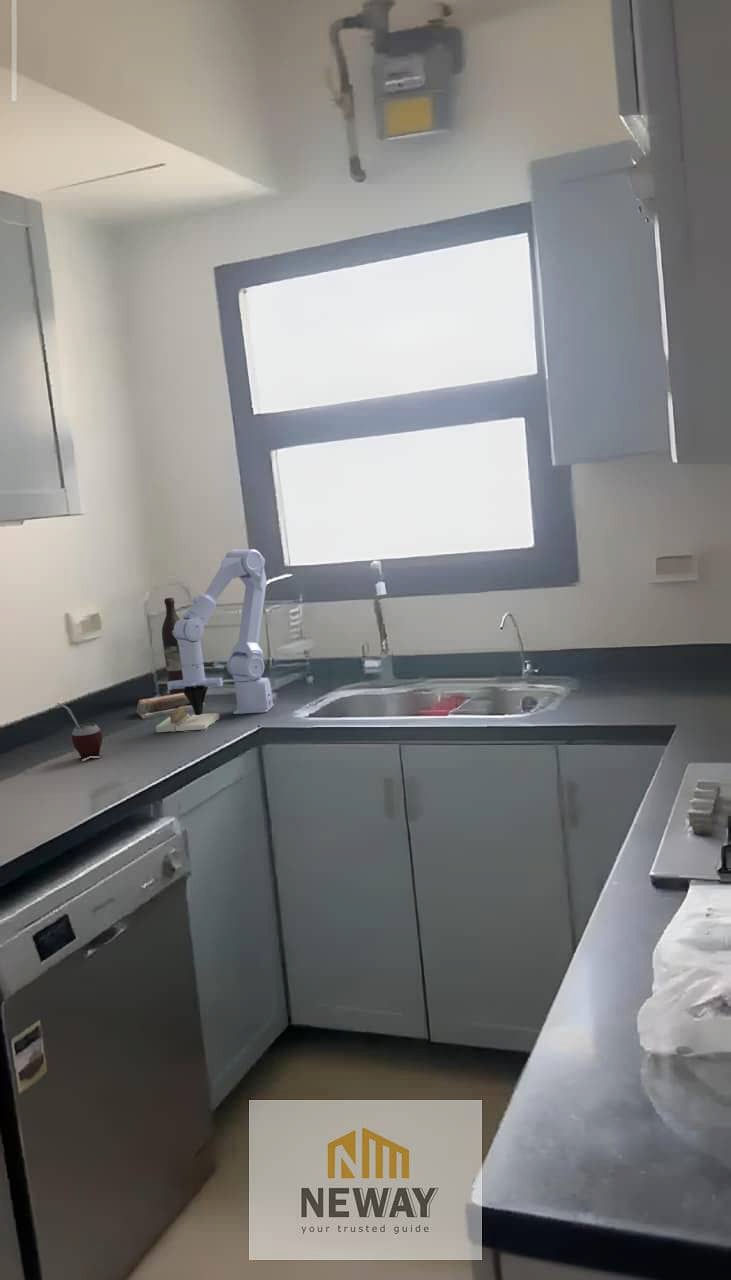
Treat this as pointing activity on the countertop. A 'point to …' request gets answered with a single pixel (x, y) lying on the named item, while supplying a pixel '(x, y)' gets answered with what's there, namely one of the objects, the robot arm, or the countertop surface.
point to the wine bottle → (171, 646)
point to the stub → (172, 720)
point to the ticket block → (197, 721)
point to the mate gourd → (86, 738)
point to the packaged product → (162, 705)
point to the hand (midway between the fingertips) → (199, 714)
